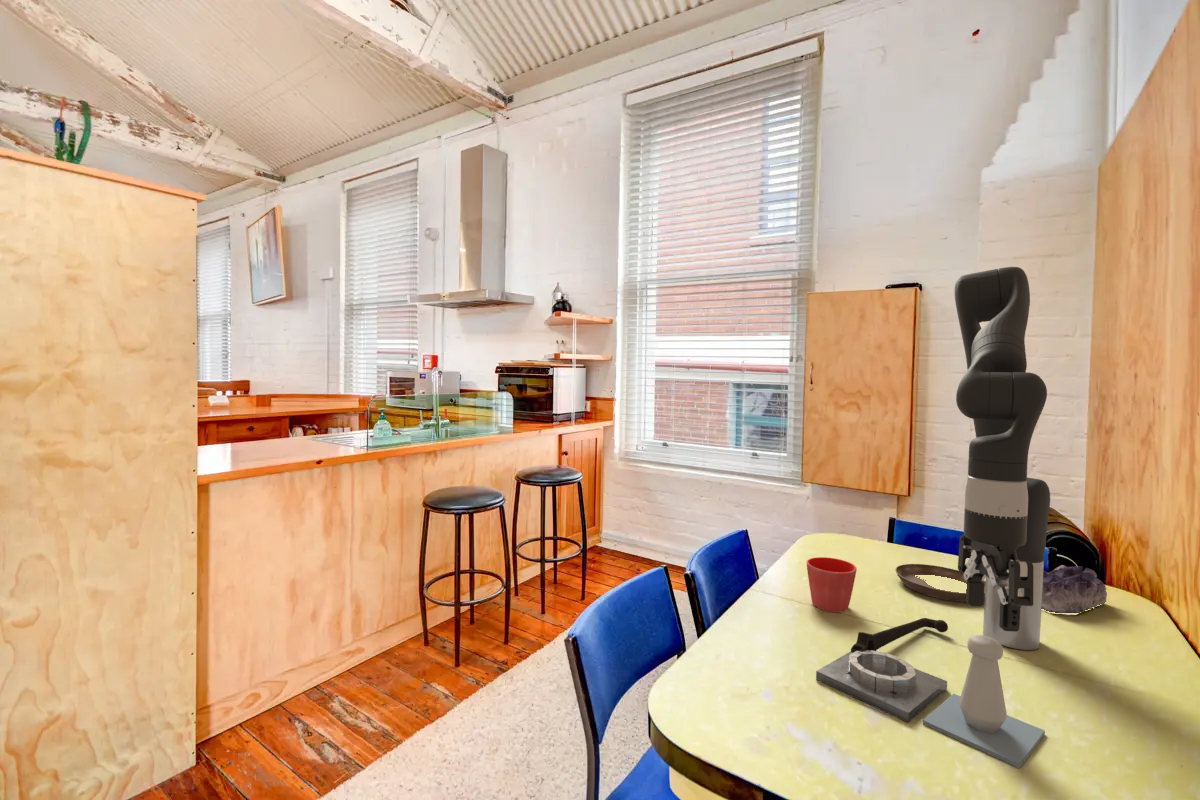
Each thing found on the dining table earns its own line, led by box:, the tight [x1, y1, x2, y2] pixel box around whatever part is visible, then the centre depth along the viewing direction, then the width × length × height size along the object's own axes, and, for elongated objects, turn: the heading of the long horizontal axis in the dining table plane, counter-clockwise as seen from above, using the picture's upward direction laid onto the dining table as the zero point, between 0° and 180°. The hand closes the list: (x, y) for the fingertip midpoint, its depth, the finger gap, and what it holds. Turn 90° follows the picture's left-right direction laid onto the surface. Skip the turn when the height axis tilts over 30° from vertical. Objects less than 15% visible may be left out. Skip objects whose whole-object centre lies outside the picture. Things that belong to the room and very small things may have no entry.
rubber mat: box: [922, 693, 1046, 769], centre depth 83 cm, size 12×12×1 cm
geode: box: [1042, 564, 1108, 614], centre depth 132 cm, size 20×12×10 cm, turn 123°
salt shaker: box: [959, 634, 1008, 734], centre depth 83 cm, size 6×6×13 cm
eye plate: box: [815, 650, 948, 723], centre depth 95 cm, size 15×15×4 cm
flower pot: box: [806, 556, 858, 613], centre depth 128 cm, size 11×11×10 cm
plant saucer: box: [894, 563, 986, 602], centre depth 141 cm, size 21×21×3 cm
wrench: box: [850, 617, 949, 653], centre depth 107 cm, size 5×5×30 cm
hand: (990, 617), depth 82 cm, fingers open, 8 cm apart
